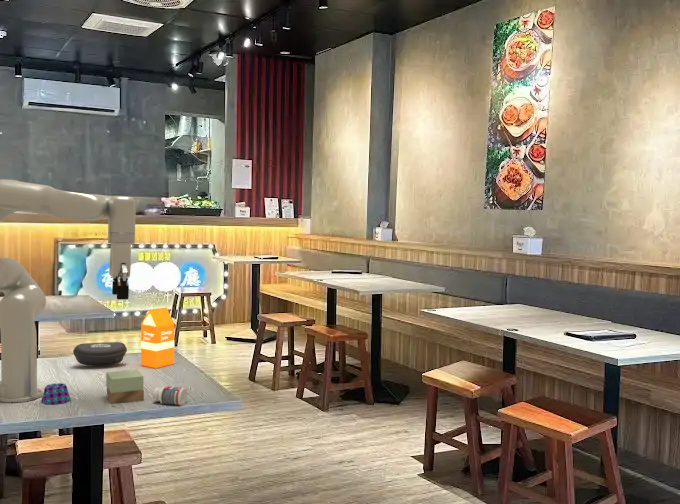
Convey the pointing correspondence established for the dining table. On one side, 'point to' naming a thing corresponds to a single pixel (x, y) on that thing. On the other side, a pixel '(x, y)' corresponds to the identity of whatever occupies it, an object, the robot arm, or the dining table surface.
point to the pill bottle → (170, 395)
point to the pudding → (55, 395)
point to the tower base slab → (125, 396)
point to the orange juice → (157, 338)
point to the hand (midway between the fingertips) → (120, 296)
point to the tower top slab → (124, 381)
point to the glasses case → (100, 353)
